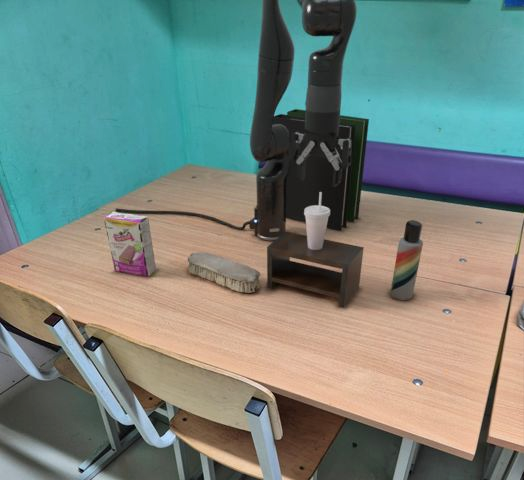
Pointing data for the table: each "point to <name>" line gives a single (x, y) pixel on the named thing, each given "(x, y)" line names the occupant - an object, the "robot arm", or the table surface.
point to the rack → (313, 276)
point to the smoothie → (316, 224)
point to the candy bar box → (130, 243)
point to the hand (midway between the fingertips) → (318, 182)
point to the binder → (326, 173)
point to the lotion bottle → (407, 261)
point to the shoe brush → (224, 272)
